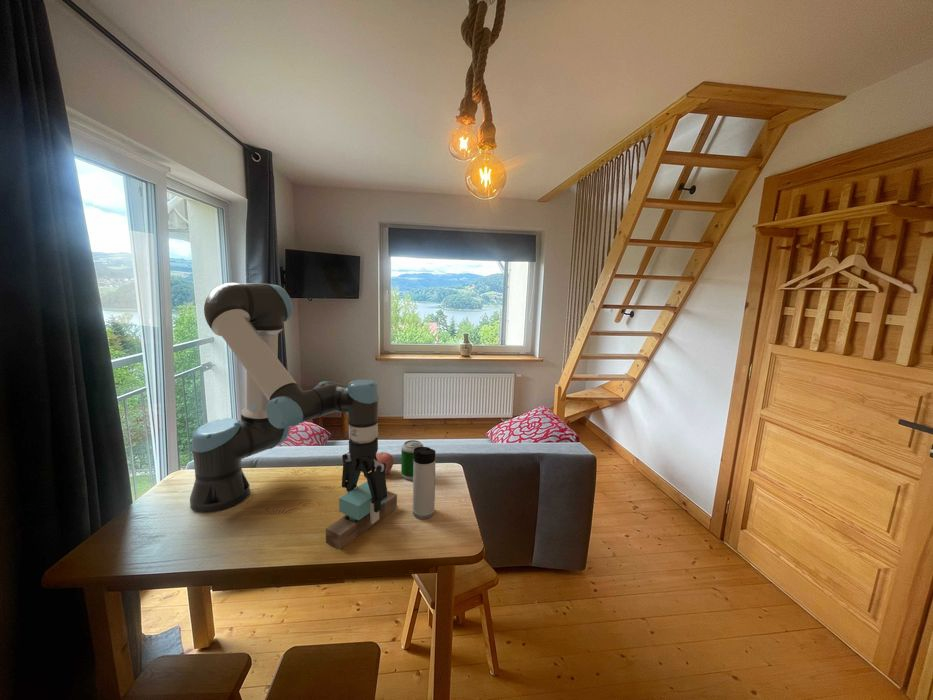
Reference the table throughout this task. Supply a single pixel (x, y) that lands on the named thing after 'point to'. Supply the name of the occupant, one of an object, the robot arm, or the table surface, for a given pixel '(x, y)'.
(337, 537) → the rail
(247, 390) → the robot arm
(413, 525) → the table surface
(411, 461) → the soda can
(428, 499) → the travel mug
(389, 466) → the apple
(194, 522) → the table surface
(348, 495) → the teal footed block
